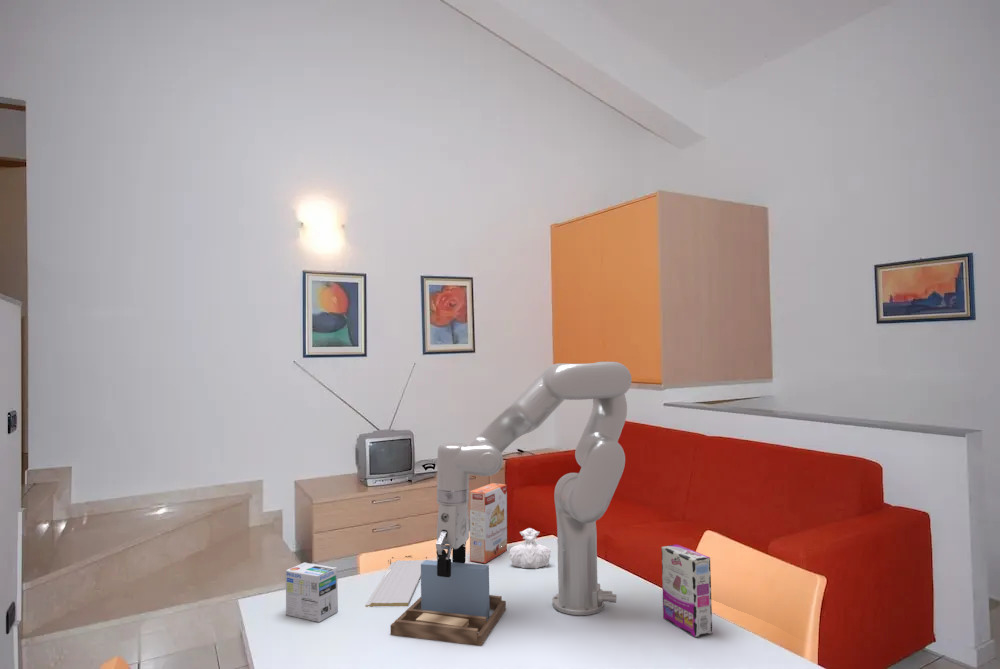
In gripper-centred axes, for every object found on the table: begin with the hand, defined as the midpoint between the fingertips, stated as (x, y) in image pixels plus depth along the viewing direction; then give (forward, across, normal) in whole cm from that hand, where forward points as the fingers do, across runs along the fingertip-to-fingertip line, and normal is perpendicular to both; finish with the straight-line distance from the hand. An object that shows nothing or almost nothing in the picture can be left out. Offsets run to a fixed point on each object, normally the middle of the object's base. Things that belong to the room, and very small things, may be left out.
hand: (451, 569), depth 141 cm
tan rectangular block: (+11, -8, -1) cm, 14 cm away
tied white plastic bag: (+10, +38, -10) cm, 41 cm away
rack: (+11, -2, -1) cm, 11 cm away
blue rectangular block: (+11, 0, -1) cm, 11 cm away
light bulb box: (+12, -6, +33) cm, 36 cm away
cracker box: (+11, +44, +4) cm, 45 cm away
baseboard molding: (+12, +16, +22) cm, 30 cm away
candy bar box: (+10, +8, -53) cm, 55 cm away
